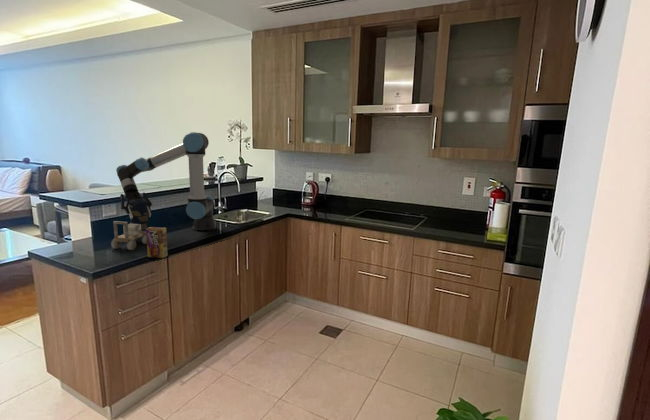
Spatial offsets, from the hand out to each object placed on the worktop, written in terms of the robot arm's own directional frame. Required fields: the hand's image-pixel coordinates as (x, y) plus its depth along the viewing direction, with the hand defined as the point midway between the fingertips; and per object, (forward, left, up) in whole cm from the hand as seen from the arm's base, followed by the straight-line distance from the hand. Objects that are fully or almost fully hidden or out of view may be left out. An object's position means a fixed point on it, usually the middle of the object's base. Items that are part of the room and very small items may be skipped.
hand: (141, 216), depth 205 cm
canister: (+3, -2, -8) cm, 9 cm away
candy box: (-27, +25, -14) cm, 39 cm away
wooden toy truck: (-3, +13, -14) cm, 19 cm away
